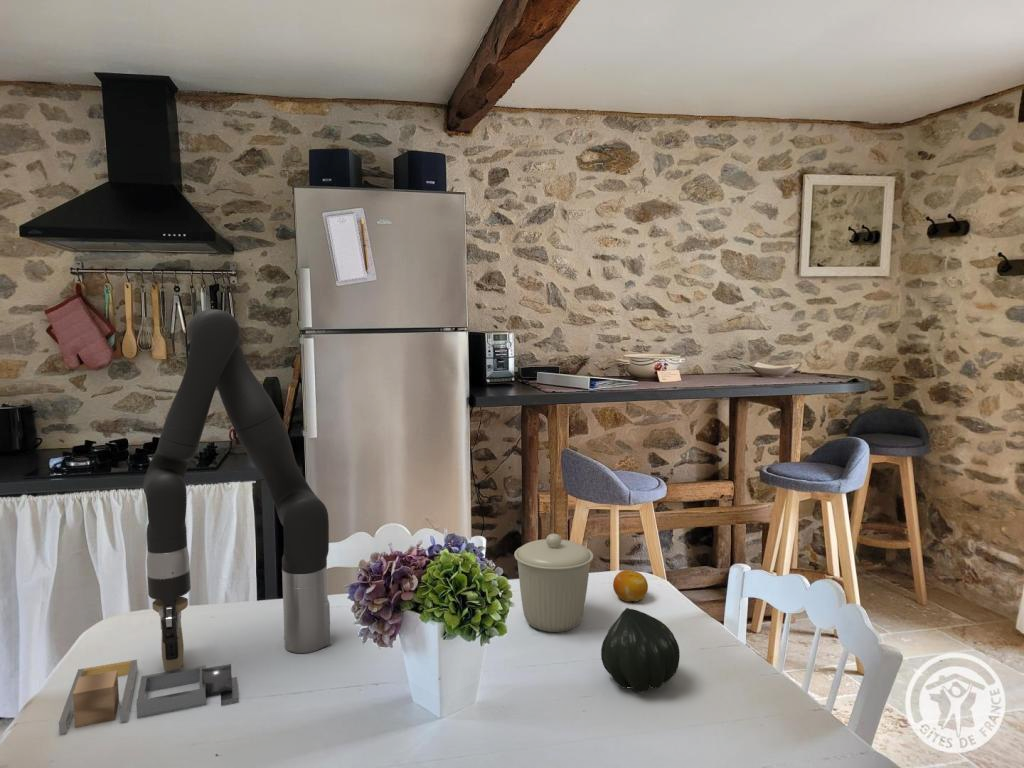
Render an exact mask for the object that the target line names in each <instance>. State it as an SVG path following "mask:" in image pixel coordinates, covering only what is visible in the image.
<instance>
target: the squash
mask: <svg viewBox="0 0 1024 768" xmlns="http://www.w3.org/2000/svg"><path fill="white" fill-rule="evenodd" d="M601 644H602V645H601V650H600V655H601V662H602V666H603V667H604V669H605V670H606V672H607V673H608V674H609V676H611V677H612V679H613V681H615V683H616V684H617V685H618V686H620V687H621V688H623V687H624V688H623V689H628V688H627V687H631V689H632V690H633V691H634V692H635V693H636V692H637V693H644V692H646V691H647V690H648V687H650V688H651V689H659V688H661V686H663V684H664V683H666V682H669V681H670V680H671V679H672V678H673V677H674V676H675V674H676V673H677V671H678V668H679V664H680V657H681V656H680V653H681V652H680V646H679V643H678V642H677V639H676V637H675V635H674V633H673V632H672V631H671V629H670V628H669V627H668V626H667V625H666V624H665V623H663V622H662V621H661V620H660V619H658V618H655V617H653V616H652V615H650V614H647V613H645V612H643V611H640V610H637V609H635V608H629V607H626V608H625V609H624V610H623V611H622V612H621V614H620V615H619V616H618V617H617V619H616V620H615V621H614V622H613V623H612V625H610V627H609V629H608V631H607V634H606V636H605V637H604V639H603V641H602V643H601Z"/></svg>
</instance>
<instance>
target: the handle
mask: <svg viewBox="0 0 1024 768" xmlns="http://www.w3.org/2000/svg"><path fill="white" fill-rule="evenodd" d="M188 606H189V598H187V597H184V596H179V597H177V600H176V613H177V612H180V611H181V612H182V611H184V610H185V609H186V608H187V607H188ZM159 609H160V610H161V609H163V601H162V600H156V599H154V601H153V602H152V610H153V611H154V612H156V613H158V614H159ZM161 612H162V611H161ZM162 613H163V612H162ZM176 623H177V620H176ZM169 635H174V633H171V634H167V636H169ZM178 636H179V638H178V658H177V659H173V660H166V652H165V643H163V632H162V631H161V643H160V644H161V645H160V646H161V647H160V648H161V649H160V650H161V661H162V666H163V670H165V672H168V671H174V670H180V669H182V668H183V667H184V666H183V664H184V659H185V658H184V653H185V647H184V637H183V629H182V617H181V618H180V627H179V628H178Z"/></svg>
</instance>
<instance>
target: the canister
mask: <svg viewBox="0 0 1024 768" xmlns="http://www.w3.org/2000/svg"><path fill="white" fill-rule="evenodd" d="M514 558H515V560H516V561H517V570H518V579H519V589H520V598H521V605H522V611H523V616H524V619H525V621H526V622H527V623H528V624H529V625H530V626H531V627H532V628H535V629H537V630H539V631H543V632H549V633H551V632H552V633H555V632H557V633H559V632H566V631H570V630H572V629H574V628H576V627H577V626H578V625H579V623H581V621H582V618H583V615H584V613H585V611H584V610H585V605H586V597H587V591H588V590H587V589H588V581H589V573H590V565H591V562H592V561H593V560H594V554H593V552H592V551H591V549H589V548H587V547H586V546H584V545H582V544H580V543H578V542H575V541H573V540H568V539H562V537H561V536H560V535H559V534H558V533H550V534H548V535H547V536H546V538H544V539H543V538H541V539H536V540H533V541H529V542H527V543H525V544H523V545H522V546H520V547H518V548H517V549H516V550H515V551H514Z"/></svg>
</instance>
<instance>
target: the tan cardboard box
mask: <svg viewBox="0 0 1024 768" xmlns="http://www.w3.org/2000/svg"><path fill="white" fill-rule="evenodd" d="M119 691H120V690H119V676H118V673H117V671H112V672H106V673H100V674H94V675H88V676H82V677H79V678H78V681H77V684H76V687H75V689H74V692H73V703H74V713H73V716H74V718H73V719H74V727H75V728H78V727H83V726H89V725H94V724H99V723H105V722H109V721H114V720H116V717H117V713H118V710H119V705H120V694H119Z"/></svg>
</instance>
